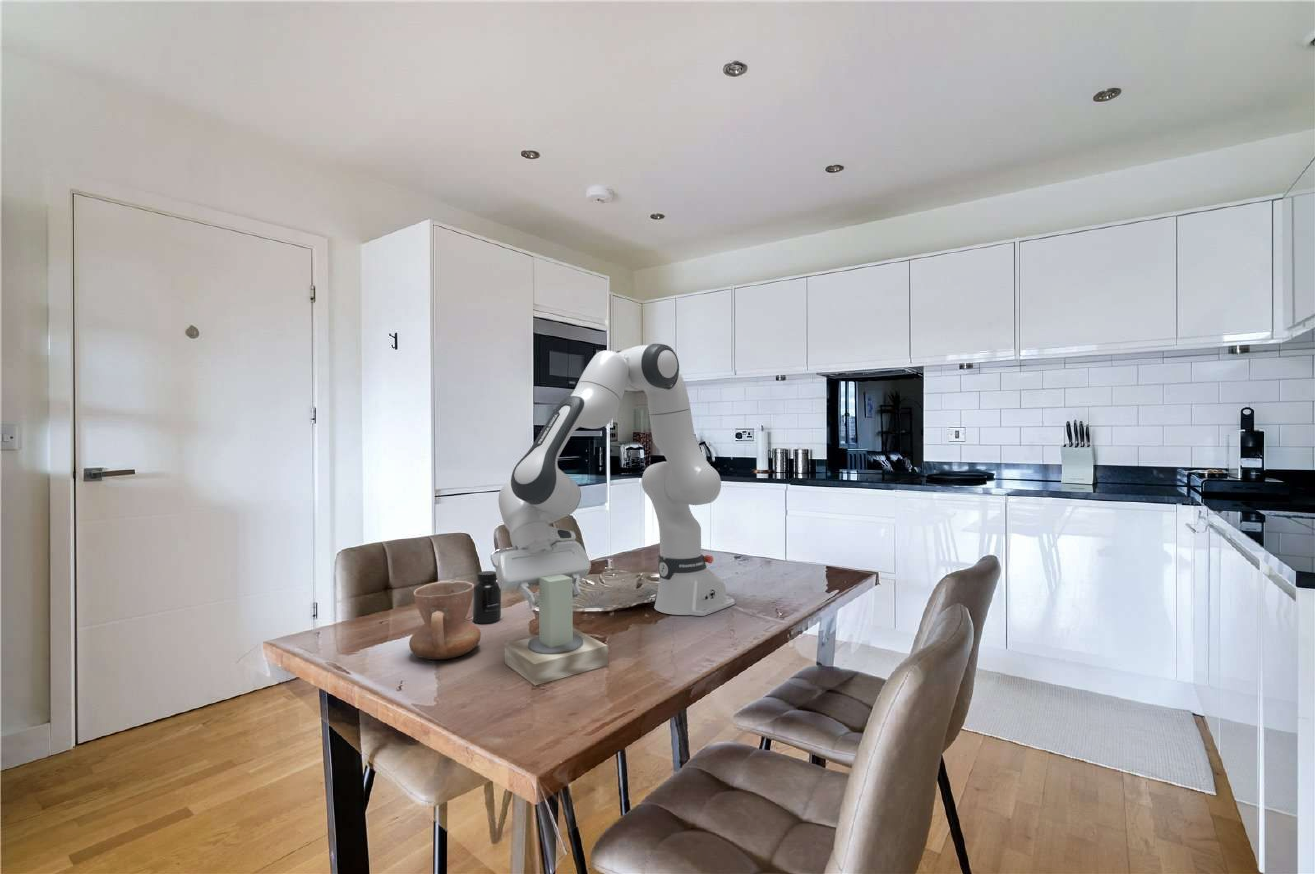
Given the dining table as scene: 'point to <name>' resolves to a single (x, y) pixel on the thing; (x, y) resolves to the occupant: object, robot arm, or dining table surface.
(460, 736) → the dining table surface
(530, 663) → the birch base
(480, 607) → the supplement bottle
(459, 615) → the ceramic jug
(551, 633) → the sage block
